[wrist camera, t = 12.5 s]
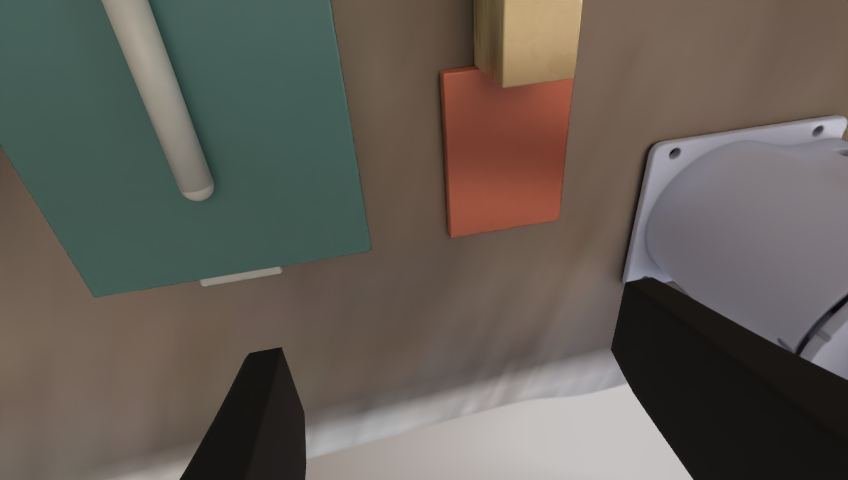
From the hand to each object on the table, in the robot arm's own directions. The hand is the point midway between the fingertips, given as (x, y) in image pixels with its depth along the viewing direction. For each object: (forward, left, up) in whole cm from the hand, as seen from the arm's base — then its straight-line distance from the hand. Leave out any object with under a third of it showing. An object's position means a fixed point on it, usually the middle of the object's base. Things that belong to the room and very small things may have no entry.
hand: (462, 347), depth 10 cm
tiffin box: (+5, -5, -10) cm, 13 cm away
